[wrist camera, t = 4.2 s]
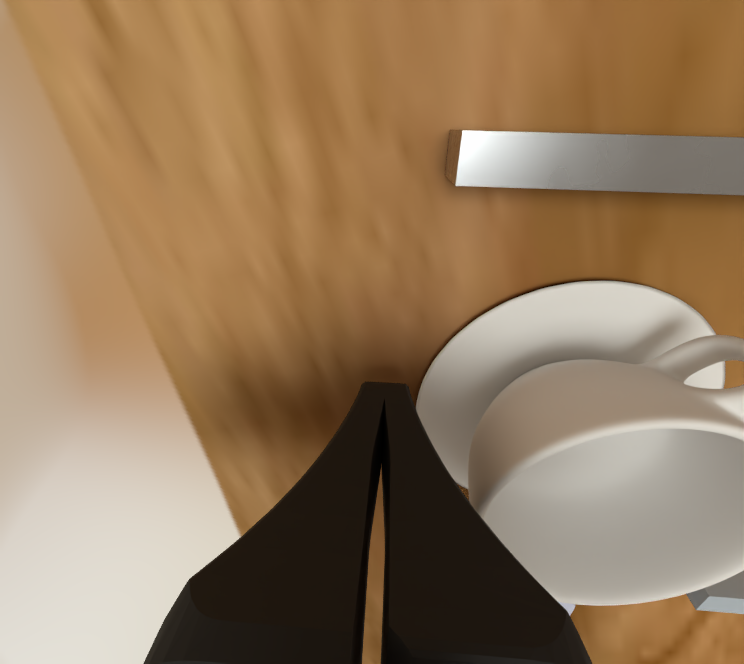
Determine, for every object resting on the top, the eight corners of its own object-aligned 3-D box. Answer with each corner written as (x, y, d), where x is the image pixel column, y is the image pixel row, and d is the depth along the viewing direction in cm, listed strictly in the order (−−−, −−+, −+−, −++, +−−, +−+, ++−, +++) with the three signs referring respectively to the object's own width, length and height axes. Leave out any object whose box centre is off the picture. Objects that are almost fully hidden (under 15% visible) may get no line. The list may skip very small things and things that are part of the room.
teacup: (555, 522, 16) (608, 654, 12) (366, 431, 14) (352, 553, 10) (784, 372, 12) (991, 504, 8) (552, 207, 10) (664, 264, 6)
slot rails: (634, 528, 16) (664, 578, 14) (406, 511, 16) (407, 558, 14) (889, 141, 8) (1022, 144, 6) (450, 130, 9) (462, 130, 7)
